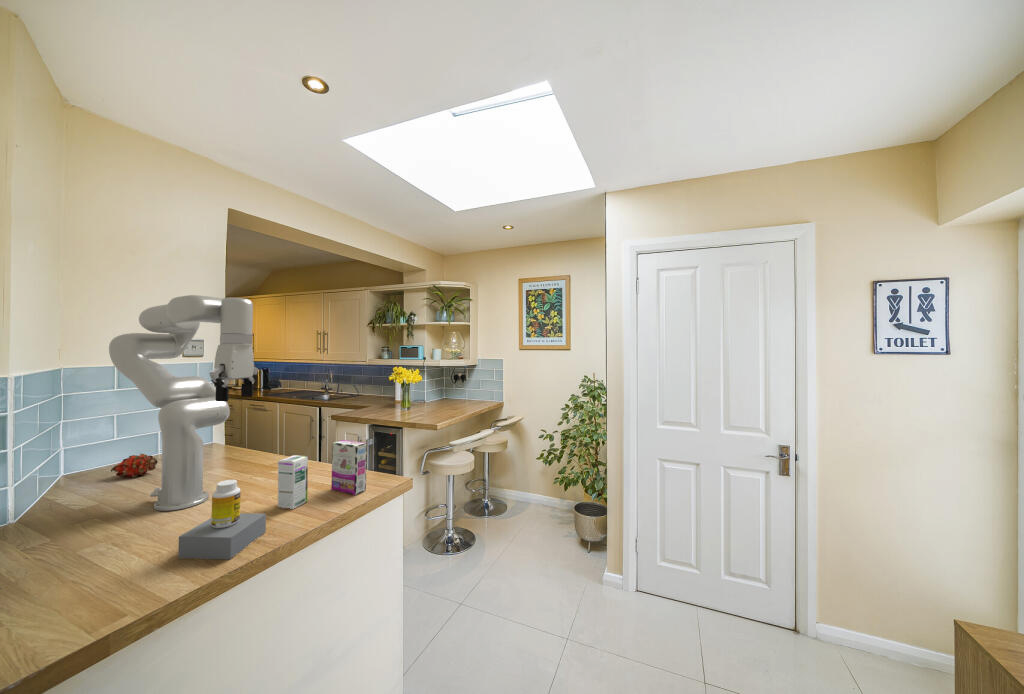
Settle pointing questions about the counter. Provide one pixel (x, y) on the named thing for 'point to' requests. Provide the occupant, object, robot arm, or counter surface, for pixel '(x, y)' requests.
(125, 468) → the dragon fruit
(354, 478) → the candy bar box
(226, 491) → the supplement bottle
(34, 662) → the counter surface
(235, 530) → the base block
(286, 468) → the syrup box
